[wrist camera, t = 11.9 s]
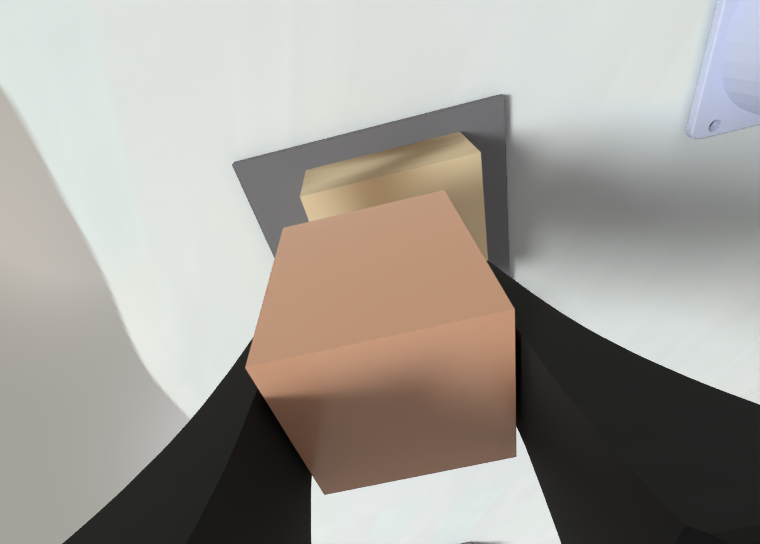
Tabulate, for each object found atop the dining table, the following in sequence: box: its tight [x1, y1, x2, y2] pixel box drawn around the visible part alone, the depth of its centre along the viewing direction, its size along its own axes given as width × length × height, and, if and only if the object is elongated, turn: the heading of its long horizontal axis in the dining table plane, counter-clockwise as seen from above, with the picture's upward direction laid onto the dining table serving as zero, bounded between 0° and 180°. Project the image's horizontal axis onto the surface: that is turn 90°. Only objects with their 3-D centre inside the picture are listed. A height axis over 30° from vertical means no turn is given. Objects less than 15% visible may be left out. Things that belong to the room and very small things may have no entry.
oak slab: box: [300, 132, 488, 261], centre depth 17 cm, size 7×7×3 cm
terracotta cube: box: [245, 190, 516, 495], centre depth 9 cm, size 4×4×5 cm
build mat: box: [232, 94, 509, 276], centre depth 21 cm, size 12×15×1 cm
